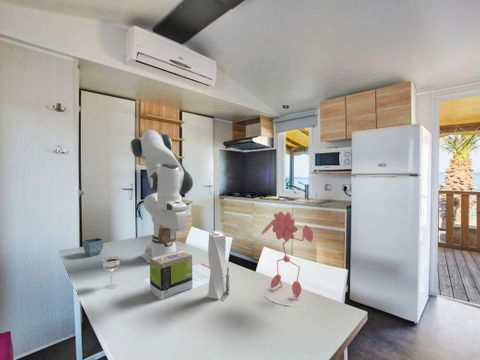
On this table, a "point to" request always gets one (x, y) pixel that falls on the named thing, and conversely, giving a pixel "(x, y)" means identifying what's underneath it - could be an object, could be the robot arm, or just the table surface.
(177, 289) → the tea box
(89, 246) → the flower pot
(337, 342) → the table surface
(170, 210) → the robot arm
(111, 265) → the wineglass
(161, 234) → the walnut cube
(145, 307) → the table surface
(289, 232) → the figurine
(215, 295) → the skyscraper
